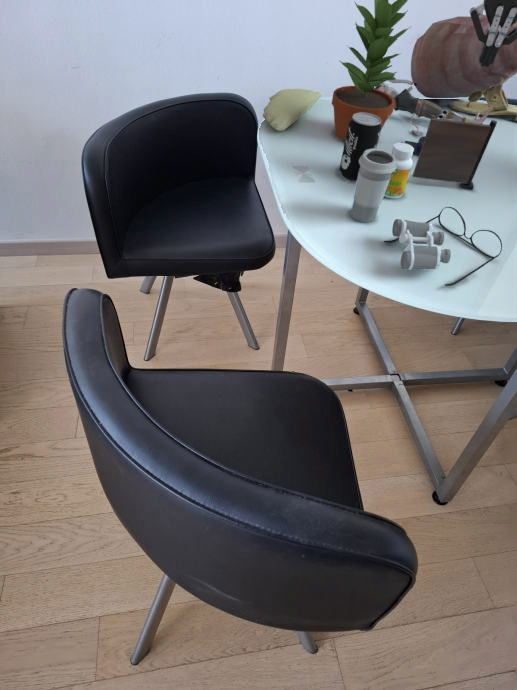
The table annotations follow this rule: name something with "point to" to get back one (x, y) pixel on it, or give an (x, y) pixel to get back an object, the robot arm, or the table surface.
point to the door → (450, 150)
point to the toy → (422, 105)
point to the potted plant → (369, 68)
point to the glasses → (464, 240)
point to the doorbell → (416, 145)
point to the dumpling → (288, 106)
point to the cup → (372, 183)
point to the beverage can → (359, 142)
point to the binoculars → (418, 254)
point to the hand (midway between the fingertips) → (484, 65)
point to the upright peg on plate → (479, 158)
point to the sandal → (493, 98)
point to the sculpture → (458, 60)
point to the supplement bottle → (400, 170)
